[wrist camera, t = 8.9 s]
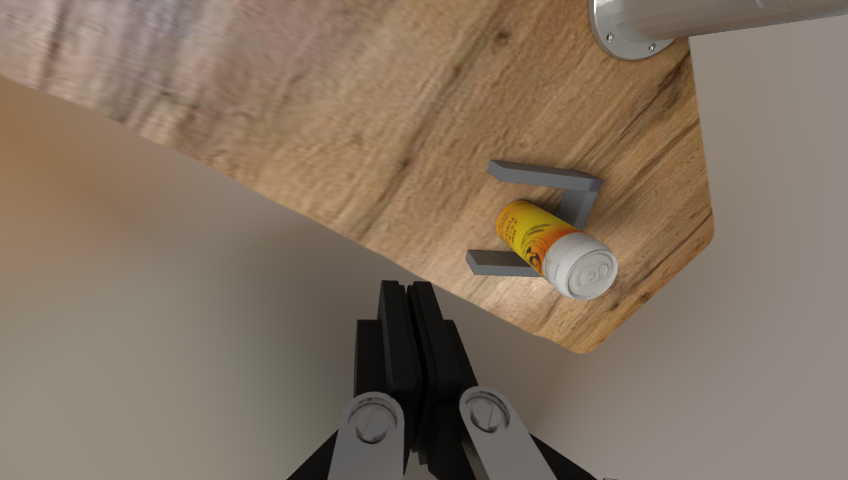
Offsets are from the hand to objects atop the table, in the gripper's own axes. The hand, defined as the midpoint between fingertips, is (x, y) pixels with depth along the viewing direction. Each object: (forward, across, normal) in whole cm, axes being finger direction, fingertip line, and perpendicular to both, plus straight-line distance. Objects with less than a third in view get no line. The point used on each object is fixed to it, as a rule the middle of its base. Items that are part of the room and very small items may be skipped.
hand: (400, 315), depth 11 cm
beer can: (+27, -19, +6) cm, 34 cm away
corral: (+27, -20, +6) cm, 34 cm away
